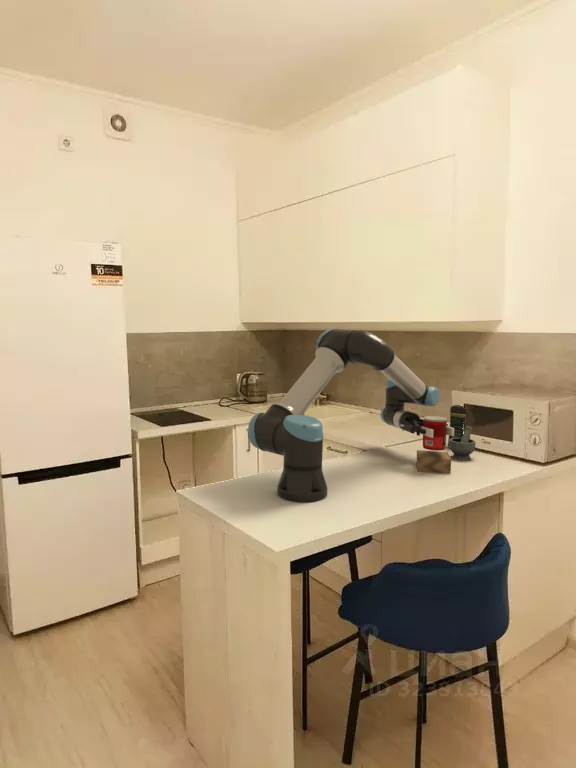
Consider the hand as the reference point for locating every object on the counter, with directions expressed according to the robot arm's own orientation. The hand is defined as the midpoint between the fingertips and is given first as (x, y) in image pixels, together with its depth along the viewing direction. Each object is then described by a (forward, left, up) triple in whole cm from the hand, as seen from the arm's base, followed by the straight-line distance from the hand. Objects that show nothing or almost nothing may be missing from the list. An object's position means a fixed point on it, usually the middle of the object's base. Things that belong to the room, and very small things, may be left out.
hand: (442, 433), depth 188 cm
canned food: (-2, +4, -7) cm, 8 cm away
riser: (-2, +4, -14) cm, 15 cm away
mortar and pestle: (+10, +23, -14) cm, 28 cm away
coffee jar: (+11, +40, -14) cm, 43 cm away
